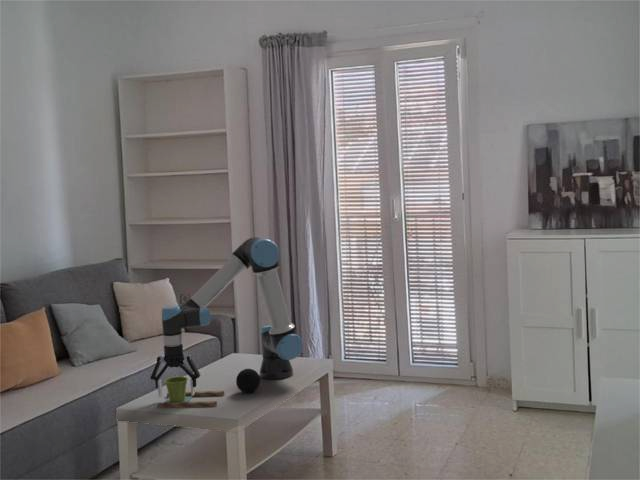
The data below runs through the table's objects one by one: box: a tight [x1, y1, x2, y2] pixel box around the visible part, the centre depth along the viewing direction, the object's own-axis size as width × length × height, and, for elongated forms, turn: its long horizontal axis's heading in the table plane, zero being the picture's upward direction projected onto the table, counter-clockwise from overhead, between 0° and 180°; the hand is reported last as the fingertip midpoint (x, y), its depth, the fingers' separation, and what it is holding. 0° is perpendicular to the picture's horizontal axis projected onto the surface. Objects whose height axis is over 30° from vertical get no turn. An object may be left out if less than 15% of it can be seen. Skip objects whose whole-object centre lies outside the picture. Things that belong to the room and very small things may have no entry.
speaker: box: [235, 368, 261, 394], centre depth 309 cm, size 10×10×10 cm
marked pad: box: [163, 396, 193, 403], centre depth 302 cm, size 10×10×1 cm
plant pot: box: [164, 376, 189, 402], centre depth 301 cm, size 9×9×9 cm
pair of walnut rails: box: [156, 390, 225, 409], centre depth 301 cm, size 24×16×2 cm, turn 85°
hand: (176, 395), depth 301 cm, fingers open, 13 cm apart
